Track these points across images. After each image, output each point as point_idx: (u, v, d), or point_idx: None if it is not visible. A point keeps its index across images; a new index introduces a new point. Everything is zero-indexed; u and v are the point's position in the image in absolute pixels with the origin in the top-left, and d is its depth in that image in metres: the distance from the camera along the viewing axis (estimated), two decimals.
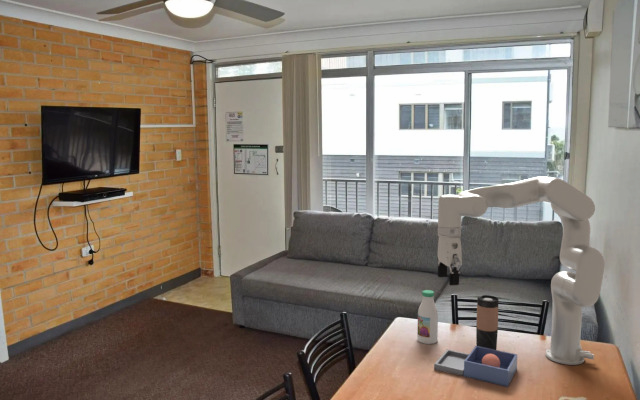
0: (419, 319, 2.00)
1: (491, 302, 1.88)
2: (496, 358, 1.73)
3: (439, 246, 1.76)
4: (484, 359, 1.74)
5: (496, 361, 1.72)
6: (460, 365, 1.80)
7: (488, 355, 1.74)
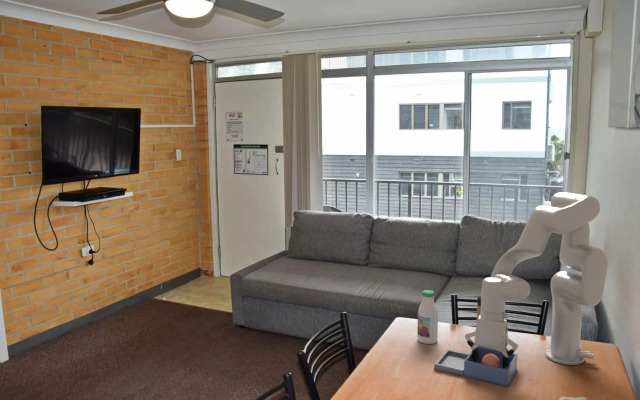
0: (419, 319, 2.00)
1: None
2: (496, 358, 1.73)
3: (482, 331, 1.72)
4: (484, 359, 1.74)
5: (496, 361, 1.72)
6: (460, 365, 1.80)
7: (488, 355, 1.74)
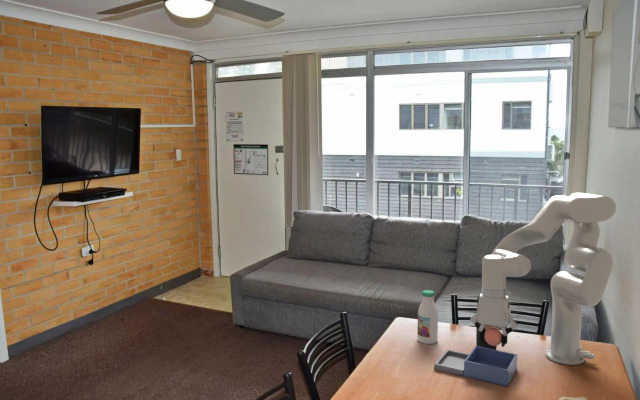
0: (419, 319, 2.00)
1: None
2: (498, 331, 1.72)
3: (484, 309, 1.71)
4: (486, 333, 1.73)
5: (499, 334, 1.71)
6: (460, 365, 1.80)
7: (490, 329, 1.73)
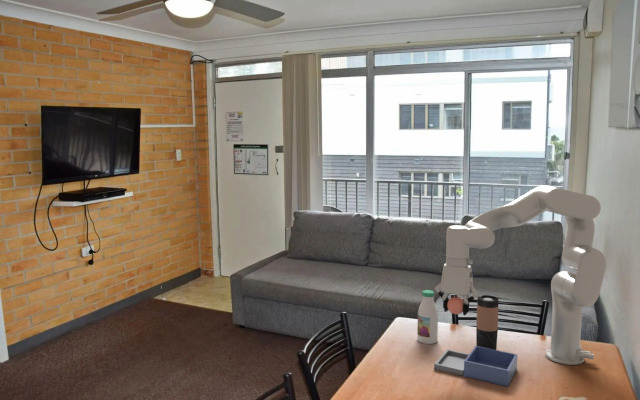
0: (419, 319, 2.00)
1: (491, 302, 1.88)
2: (461, 300, 1.77)
3: (447, 278, 1.77)
4: (449, 301, 1.78)
5: (461, 303, 1.76)
6: (460, 365, 1.80)
7: (453, 298, 1.78)
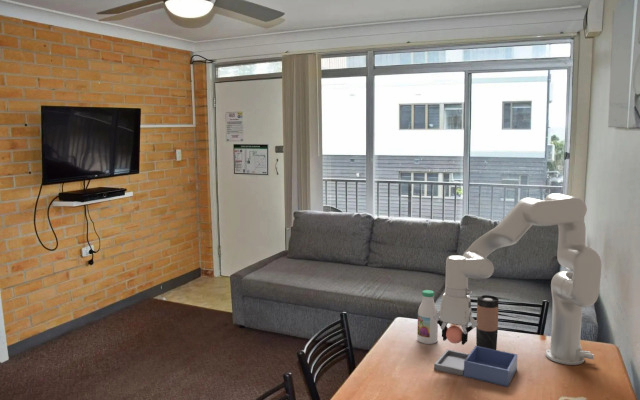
0: (419, 319, 2.00)
1: (491, 302, 1.88)
2: (459, 330, 1.78)
3: (446, 307, 1.78)
4: (448, 331, 1.79)
5: (459, 332, 1.78)
6: (460, 365, 1.80)
7: (452, 327, 1.79)
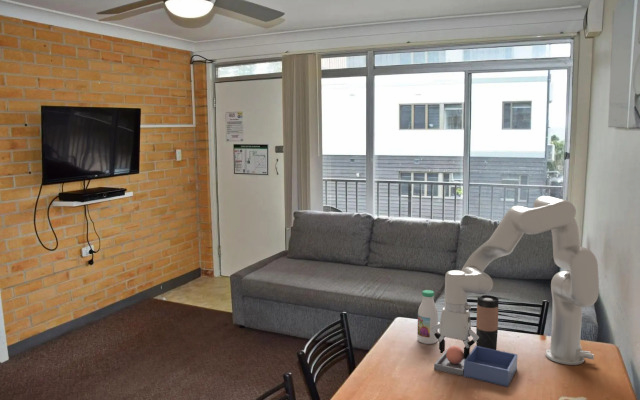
0: (419, 319, 2.00)
1: (491, 302, 1.88)
2: (459, 350, 1.79)
3: (446, 322, 1.79)
4: (448, 351, 1.80)
5: (459, 353, 1.79)
6: (460, 365, 1.80)
7: (452, 347, 1.80)
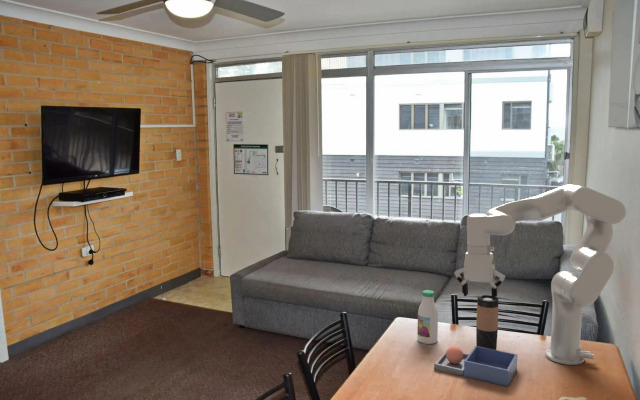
0: (419, 319, 2.00)
1: (491, 302, 1.88)
2: (459, 350, 1.79)
3: (470, 266, 1.79)
4: (448, 351, 1.80)
5: (459, 353, 1.79)
6: (460, 365, 1.80)
7: (451, 347, 1.81)
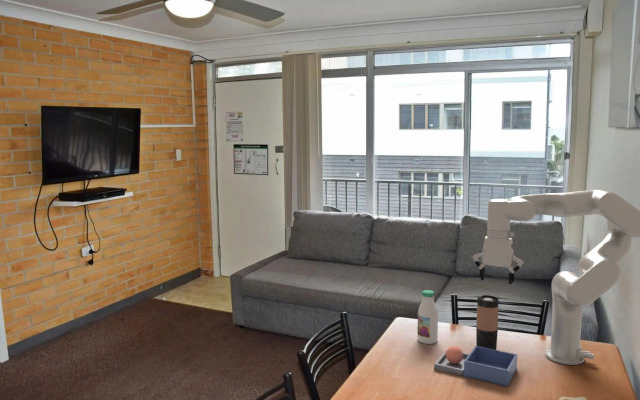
0: (419, 319, 2.00)
1: (491, 302, 1.88)
2: (459, 350, 1.79)
3: (489, 250, 1.82)
4: (447, 351, 1.80)
5: (459, 353, 1.79)
6: (460, 365, 1.80)
7: (451, 347, 1.81)
